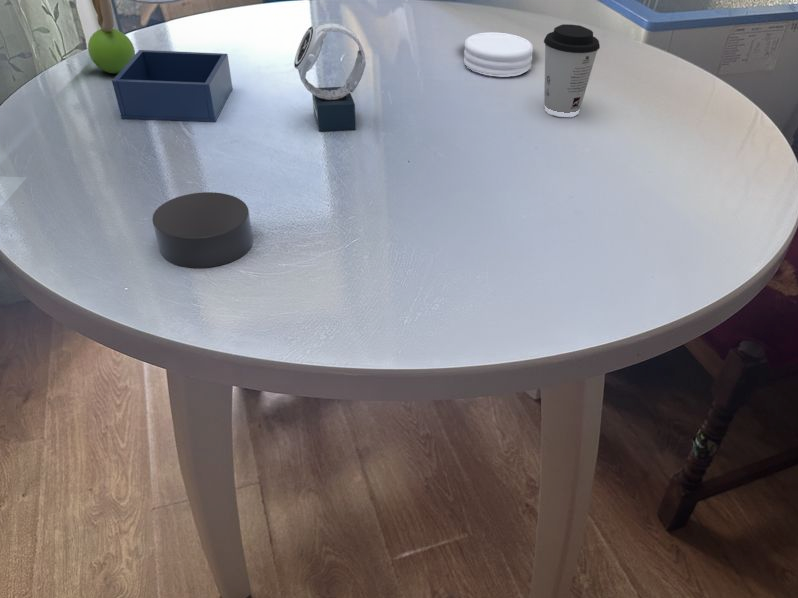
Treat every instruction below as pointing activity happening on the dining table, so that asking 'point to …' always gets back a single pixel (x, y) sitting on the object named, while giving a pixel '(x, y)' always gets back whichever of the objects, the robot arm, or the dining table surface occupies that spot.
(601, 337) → the dining table surface
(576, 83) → the coffee cup
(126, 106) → the blue open box
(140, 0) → the can
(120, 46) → the green maraca
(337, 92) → the watch
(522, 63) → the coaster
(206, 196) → the stand
